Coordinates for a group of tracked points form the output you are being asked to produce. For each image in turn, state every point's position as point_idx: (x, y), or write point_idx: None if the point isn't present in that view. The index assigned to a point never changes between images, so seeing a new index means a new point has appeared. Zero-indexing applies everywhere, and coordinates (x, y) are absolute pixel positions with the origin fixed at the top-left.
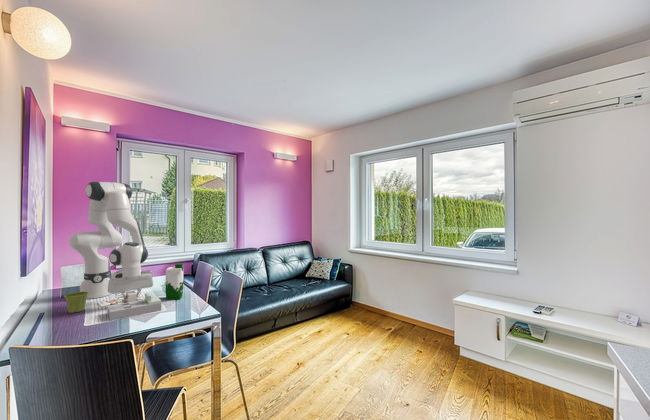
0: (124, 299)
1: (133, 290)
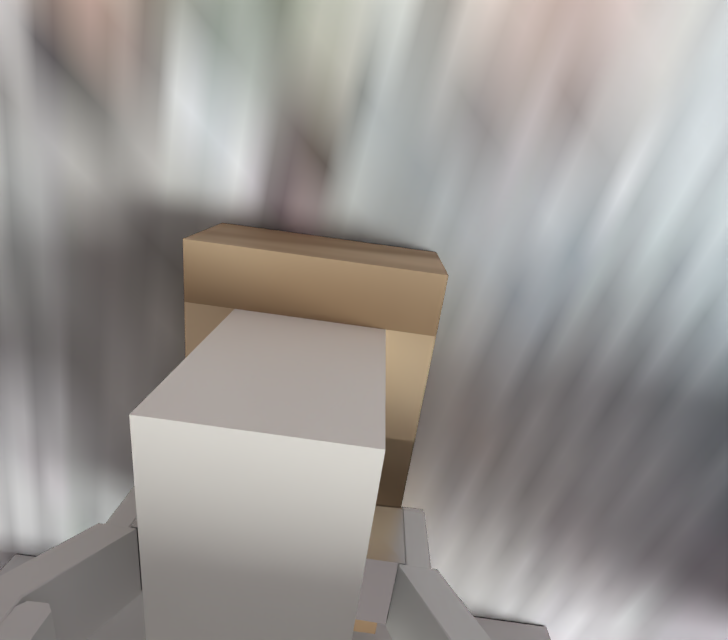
0: (217, 278)
1: (369, 489)
